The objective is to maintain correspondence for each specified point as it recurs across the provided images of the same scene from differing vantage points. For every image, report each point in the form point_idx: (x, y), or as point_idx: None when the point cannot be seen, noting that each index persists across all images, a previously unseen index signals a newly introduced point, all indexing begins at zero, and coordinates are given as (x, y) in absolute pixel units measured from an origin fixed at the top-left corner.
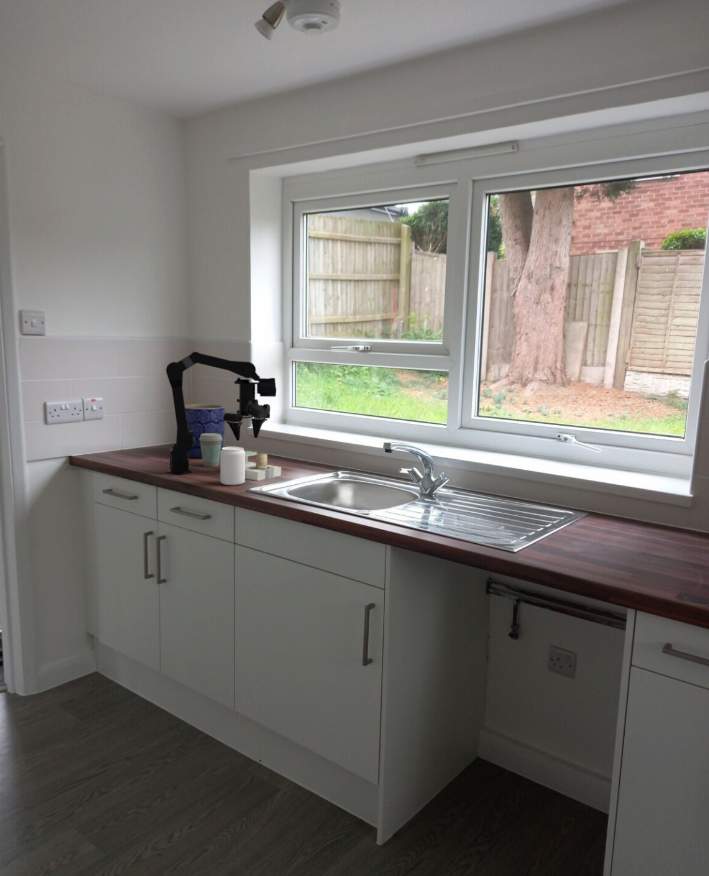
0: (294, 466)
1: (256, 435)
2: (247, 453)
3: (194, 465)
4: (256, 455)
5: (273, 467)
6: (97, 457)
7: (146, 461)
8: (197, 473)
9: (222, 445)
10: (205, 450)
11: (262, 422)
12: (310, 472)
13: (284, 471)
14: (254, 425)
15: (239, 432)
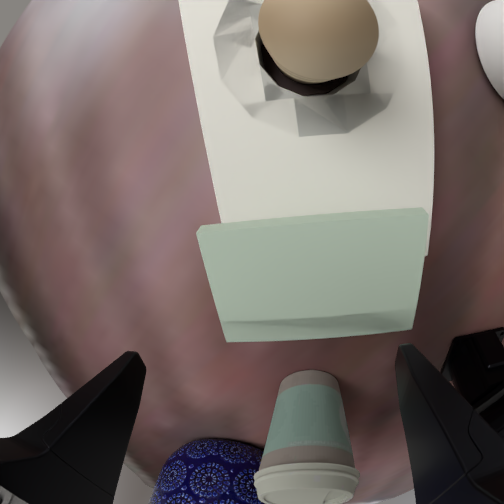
0: (31, 180)
1: (127, 370)
2: (293, 251)
3: (345, 409)
4: (376, 41)
5: (223, 16)
6: (396, 489)
7: (379, 463)
8: (456, 316)
9: (181, 458)
10: (348, 436)
11: (3, 447)
12: (44, 27)
13: (112, 98)
14: (100, 472)
15: (444, 409)
